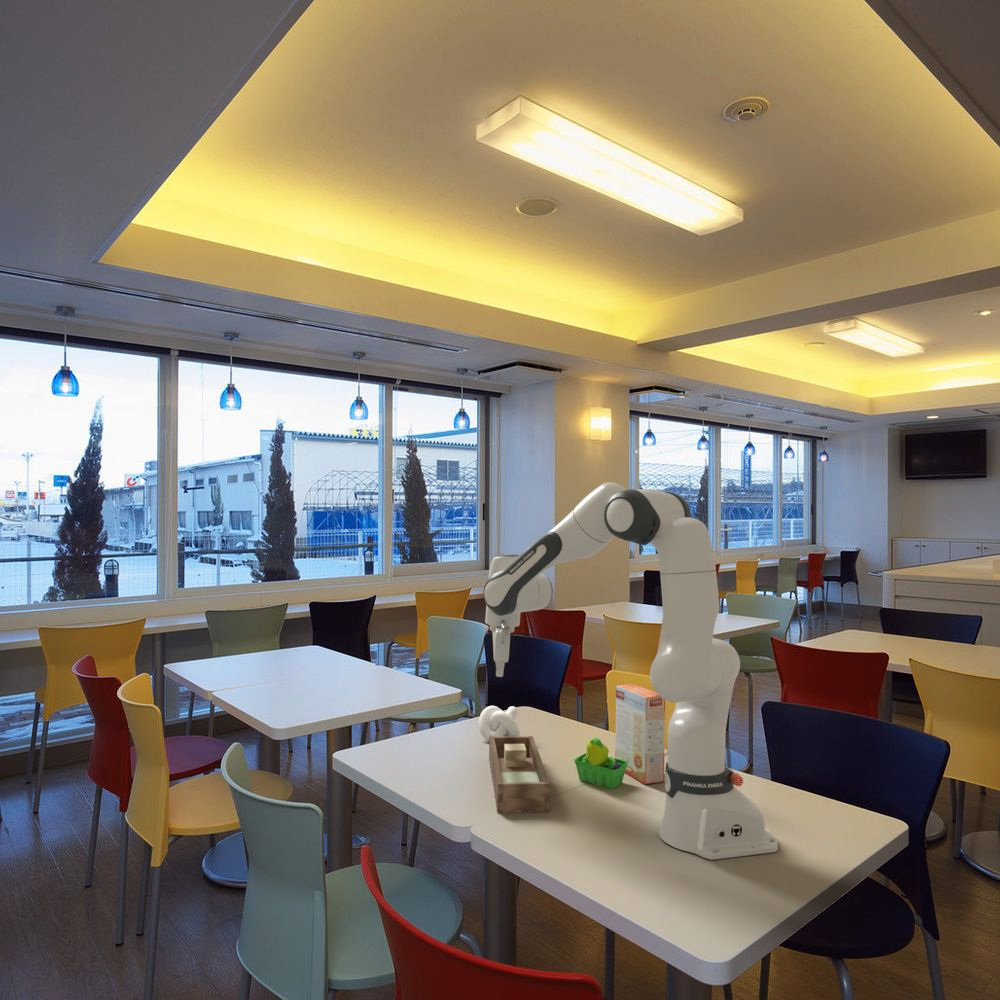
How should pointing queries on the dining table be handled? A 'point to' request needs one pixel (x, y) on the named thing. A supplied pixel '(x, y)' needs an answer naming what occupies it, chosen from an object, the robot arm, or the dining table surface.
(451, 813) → the dining table surface
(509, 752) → the maple block
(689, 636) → the robot arm
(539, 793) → the trap lane
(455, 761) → the dining table surface
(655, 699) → the cracker box
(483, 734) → the white rounded piece
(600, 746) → the fruit basket
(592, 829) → the dining table surface
